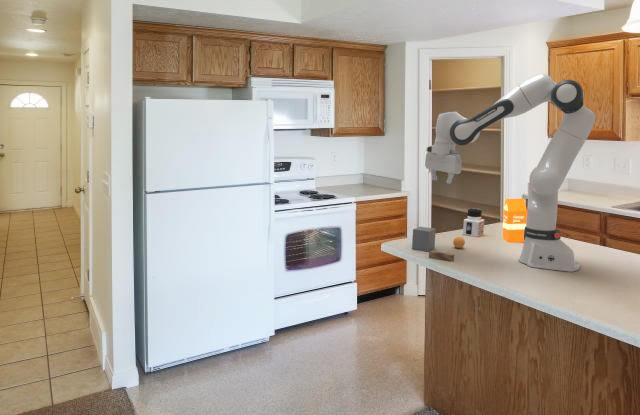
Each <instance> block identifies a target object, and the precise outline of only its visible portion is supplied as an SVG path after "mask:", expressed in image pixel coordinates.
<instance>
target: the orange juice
mask: <svg viewBox="0 0 640 415" xmlns="http://www.w3.org/2000/svg"><path fill="white" fill-rule="evenodd" d="M503 205H504V206H503V207H502V208H503V209H502V239H503V240H504V241H505V242H507V243H524V229H525V226H526V219H527V206H526V201H525V198H505V201H504V204H503Z"/></svg>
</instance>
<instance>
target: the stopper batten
mask: <svg viewBox="0 0 640 415" xmlns="http://www.w3.org/2000/svg"><path fill="white" fill-rule="evenodd" d="M428 258H431V259H435V260H442V261H447V262H454V261H455V254H454V253H448V252H442V251H437V250H430V251H428Z"/></svg>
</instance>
